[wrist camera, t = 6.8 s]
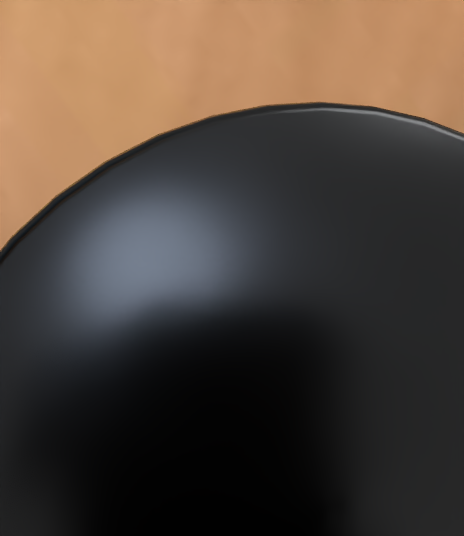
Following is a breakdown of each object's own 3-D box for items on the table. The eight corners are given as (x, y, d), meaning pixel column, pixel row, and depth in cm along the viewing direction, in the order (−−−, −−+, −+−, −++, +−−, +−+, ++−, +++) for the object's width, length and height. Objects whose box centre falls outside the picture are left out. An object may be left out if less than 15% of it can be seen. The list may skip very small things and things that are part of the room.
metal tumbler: (312, 328, 16) (729, 613, 4) (167, 400, 15) (139, 997, 3) (248, 180, 15) (536, -31, 3) (91, 251, 14) (-321, 334, 2)
